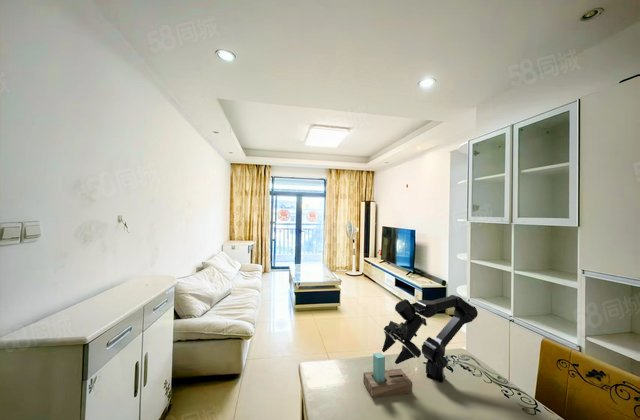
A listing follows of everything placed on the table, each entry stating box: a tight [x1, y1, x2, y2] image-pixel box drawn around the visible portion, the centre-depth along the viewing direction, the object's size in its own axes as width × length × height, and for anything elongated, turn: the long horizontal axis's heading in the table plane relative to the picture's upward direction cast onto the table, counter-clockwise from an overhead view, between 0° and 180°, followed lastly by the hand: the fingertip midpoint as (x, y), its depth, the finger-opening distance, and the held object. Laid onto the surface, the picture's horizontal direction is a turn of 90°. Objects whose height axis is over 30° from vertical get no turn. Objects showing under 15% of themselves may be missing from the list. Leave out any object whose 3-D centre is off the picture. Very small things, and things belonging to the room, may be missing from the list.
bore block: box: [363, 368, 413, 398], centre depth 99 cm, size 9×17×4 cm, turn 101°
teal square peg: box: [372, 352, 386, 383], centre depth 98 cm, size 3×3×13 cm
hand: (389, 357), depth 100 cm, fingers open, 9 cm apart
